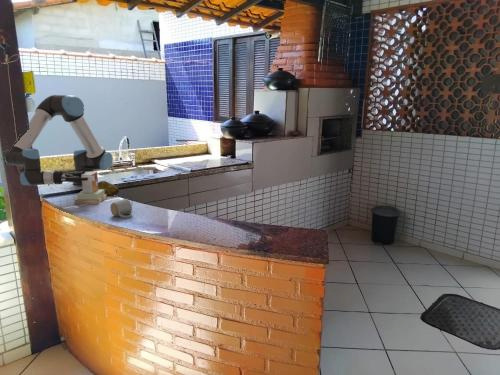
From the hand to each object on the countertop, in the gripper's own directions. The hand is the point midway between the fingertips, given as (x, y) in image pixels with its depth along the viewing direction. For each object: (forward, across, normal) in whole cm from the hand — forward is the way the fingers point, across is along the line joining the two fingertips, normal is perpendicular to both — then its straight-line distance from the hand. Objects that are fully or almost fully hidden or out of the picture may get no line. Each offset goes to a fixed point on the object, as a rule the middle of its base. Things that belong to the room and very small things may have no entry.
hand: (96, 176), depth 204 cm
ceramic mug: (+15, +33, -14) cm, 39 cm away
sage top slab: (-3, 0, -12) cm, 12 cm away
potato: (+4, -12, -14) cm, 19 cm away
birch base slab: (-3, 0, -15) cm, 15 cm away
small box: (-3, 0, -9) cm, 10 cm away
